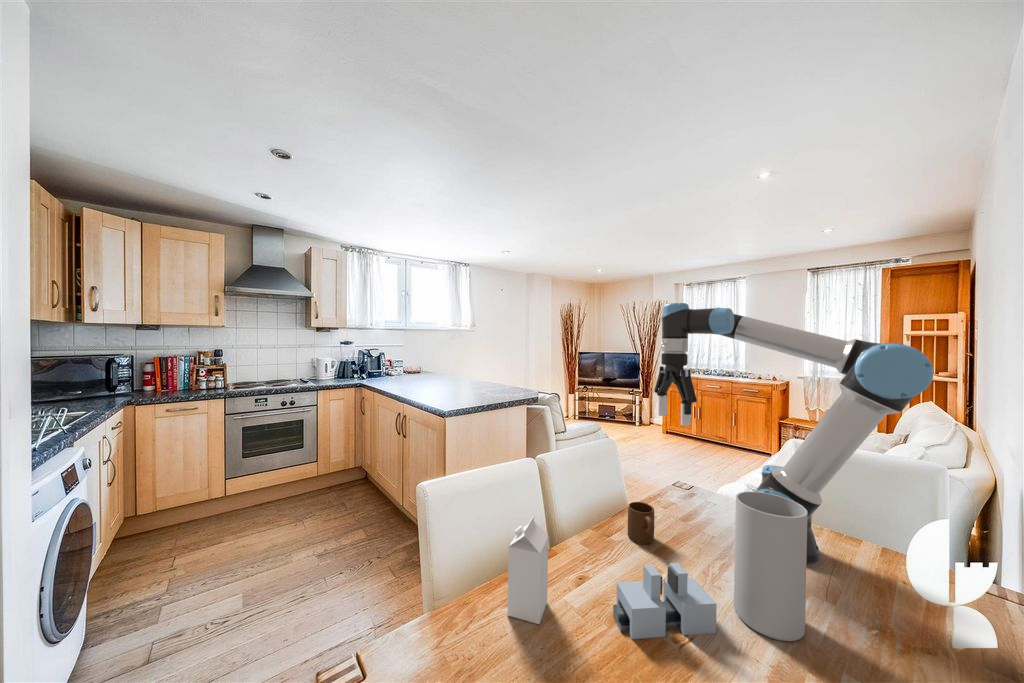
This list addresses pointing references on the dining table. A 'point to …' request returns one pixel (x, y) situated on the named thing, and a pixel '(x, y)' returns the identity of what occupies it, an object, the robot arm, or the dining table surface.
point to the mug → (641, 522)
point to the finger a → (644, 604)
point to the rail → (624, 621)
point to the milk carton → (528, 573)
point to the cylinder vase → (770, 564)
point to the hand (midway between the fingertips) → (673, 420)
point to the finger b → (690, 601)
